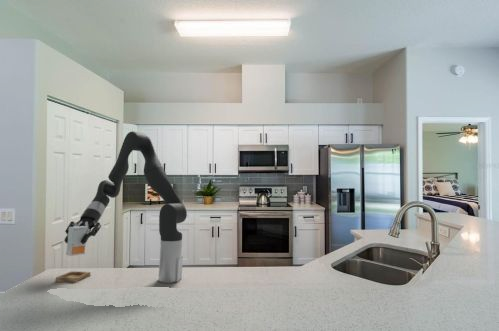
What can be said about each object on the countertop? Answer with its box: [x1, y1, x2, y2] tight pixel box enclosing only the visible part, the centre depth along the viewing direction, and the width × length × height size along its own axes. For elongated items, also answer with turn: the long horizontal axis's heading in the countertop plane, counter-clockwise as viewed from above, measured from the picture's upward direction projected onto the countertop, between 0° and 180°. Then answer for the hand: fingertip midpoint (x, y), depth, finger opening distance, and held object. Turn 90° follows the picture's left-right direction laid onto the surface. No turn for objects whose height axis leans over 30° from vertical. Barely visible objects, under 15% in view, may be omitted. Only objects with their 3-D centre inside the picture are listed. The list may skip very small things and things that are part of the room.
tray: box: [55, 270, 92, 284], centre depth 116 cm, size 9×9×2 cm
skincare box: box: [65, 226, 87, 257], centre depth 118 cm, size 6×4×12 cm
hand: (74, 242), depth 116 cm, fingers closed on skincare box, 6 cm apart
